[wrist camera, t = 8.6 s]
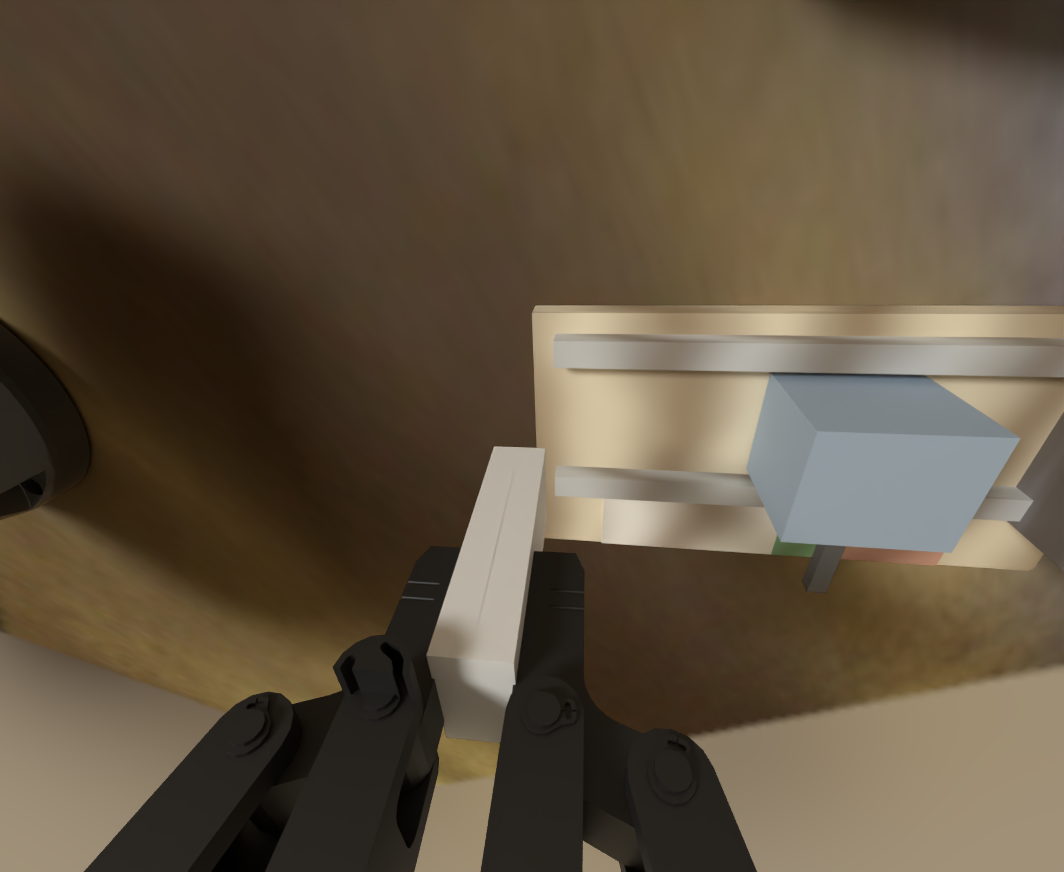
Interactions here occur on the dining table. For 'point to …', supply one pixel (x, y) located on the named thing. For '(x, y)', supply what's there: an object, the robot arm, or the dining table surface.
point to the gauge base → (735, 404)
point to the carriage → (871, 464)
